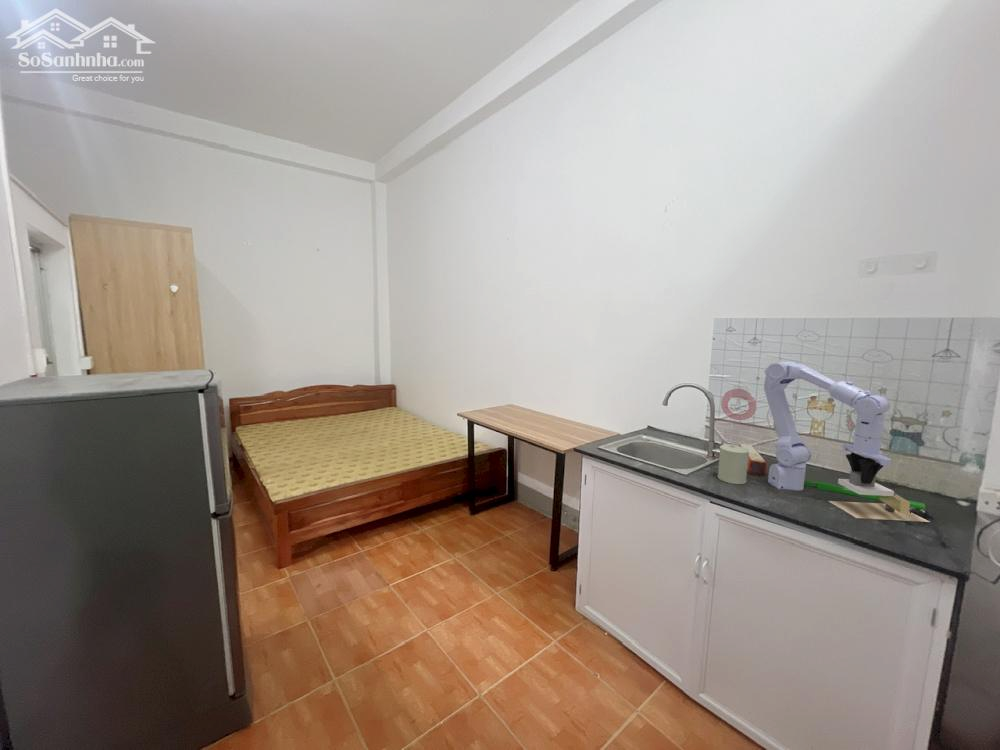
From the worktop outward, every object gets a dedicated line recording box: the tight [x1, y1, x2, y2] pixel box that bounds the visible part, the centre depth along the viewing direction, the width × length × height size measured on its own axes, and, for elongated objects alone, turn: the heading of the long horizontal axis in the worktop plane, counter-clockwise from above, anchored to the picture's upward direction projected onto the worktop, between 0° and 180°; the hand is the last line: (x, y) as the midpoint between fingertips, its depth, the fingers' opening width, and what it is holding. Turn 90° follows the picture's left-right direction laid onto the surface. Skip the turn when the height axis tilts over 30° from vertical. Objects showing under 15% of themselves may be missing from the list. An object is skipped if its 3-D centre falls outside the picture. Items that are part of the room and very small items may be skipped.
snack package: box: [738, 443, 768, 477], centre depth 155 cm, size 21×7×7 cm, turn 159°
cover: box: [837, 470, 895, 496], centre depth 115 cm, size 9×8×5 cm
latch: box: [876, 492, 910, 514], centre depth 114 cm, size 11×2×4 cm, turn 162°
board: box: [828, 500, 931, 523], centre depth 115 cm, size 19×11×3 cm, turn 84°
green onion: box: [804, 479, 926, 510], centre depth 125 cm, size 5×3×30 cm
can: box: [717, 444, 749, 485], centre depth 141 cm, size 9×9×12 cm
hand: (861, 481), depth 115 cm, fingers closed on cover, 2 cm apart
